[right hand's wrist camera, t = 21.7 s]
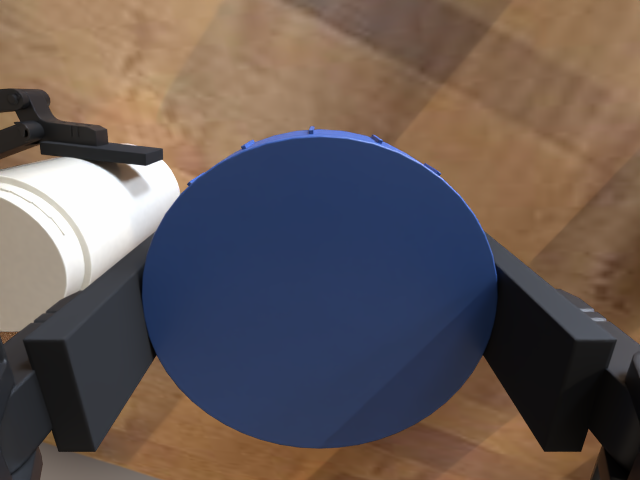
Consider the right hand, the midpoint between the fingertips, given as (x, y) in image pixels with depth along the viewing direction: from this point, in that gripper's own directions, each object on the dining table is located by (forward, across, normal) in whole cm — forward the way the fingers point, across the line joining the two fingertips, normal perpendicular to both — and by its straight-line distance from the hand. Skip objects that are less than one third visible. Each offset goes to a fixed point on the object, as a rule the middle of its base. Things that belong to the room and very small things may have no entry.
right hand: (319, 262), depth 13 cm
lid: (-3, 0, 0) cm, 3 cm away
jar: (+20, +16, +2) cm, 25 cm away
